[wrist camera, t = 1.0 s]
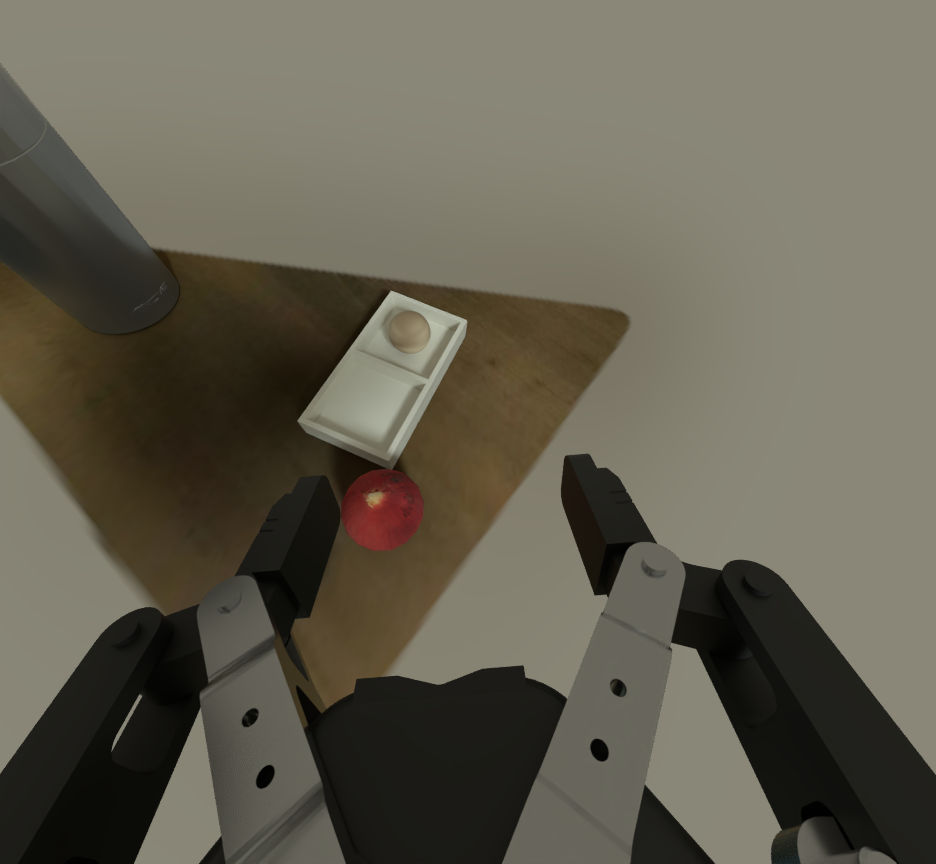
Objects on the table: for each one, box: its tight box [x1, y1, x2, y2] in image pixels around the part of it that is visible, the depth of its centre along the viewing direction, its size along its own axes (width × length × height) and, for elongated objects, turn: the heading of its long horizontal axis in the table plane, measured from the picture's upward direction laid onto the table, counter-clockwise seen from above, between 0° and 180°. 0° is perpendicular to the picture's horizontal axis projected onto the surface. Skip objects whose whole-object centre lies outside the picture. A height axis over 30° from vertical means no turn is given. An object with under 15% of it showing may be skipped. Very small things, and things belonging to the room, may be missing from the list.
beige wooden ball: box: [388, 310, 431, 354], centre depth 34 cm, size 4×4×4 cm
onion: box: [341, 469, 424, 551], centre depth 26 cm, size 6×6×8 cm
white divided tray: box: [298, 291, 467, 470], centre depth 34 cm, size 8×16×2 cm, turn 157°
